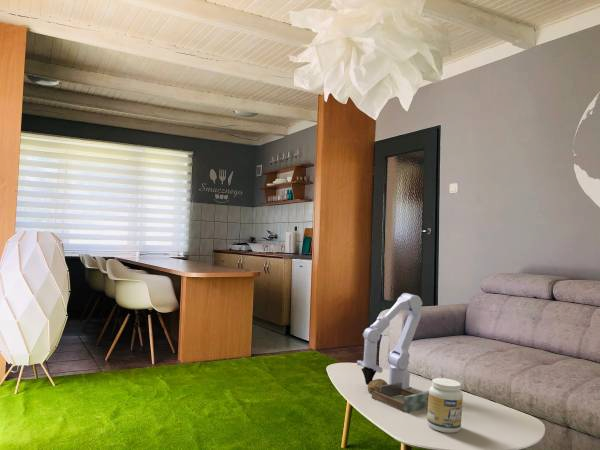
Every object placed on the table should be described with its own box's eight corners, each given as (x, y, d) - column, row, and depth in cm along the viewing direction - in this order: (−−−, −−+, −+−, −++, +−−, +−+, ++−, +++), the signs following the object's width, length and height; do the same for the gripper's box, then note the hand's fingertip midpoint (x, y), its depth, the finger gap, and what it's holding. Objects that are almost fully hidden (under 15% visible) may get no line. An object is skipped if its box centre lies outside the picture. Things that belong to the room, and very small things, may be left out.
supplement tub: (446, 436, 174) (449, 388, 174) (420, 424, 183) (422, 379, 184) (467, 430, 181) (470, 384, 181) (440, 419, 191) (443, 375, 191)
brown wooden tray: (397, 392, 220) (398, 379, 220) (432, 406, 205) (432, 391, 205) (371, 398, 210) (372, 384, 211) (406, 412, 195) (407, 397, 195)
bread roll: (365, 400, 218) (363, 386, 215) (372, 385, 226) (371, 371, 223) (386, 405, 213) (385, 390, 211) (393, 390, 222) (392, 375, 219)
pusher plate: (399, 394, 217) (400, 382, 217) (401, 395, 216) (402, 382, 216) (379, 398, 209) (379, 386, 209) (380, 399, 208) (381, 386, 209)
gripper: (352, 351, 227) (351, 381, 227) (375, 359, 216) (373, 390, 216) (363, 350, 232) (362, 379, 231) (386, 357, 220) (384, 388, 220)
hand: (368, 384), depth 224 cm, fingers closed
